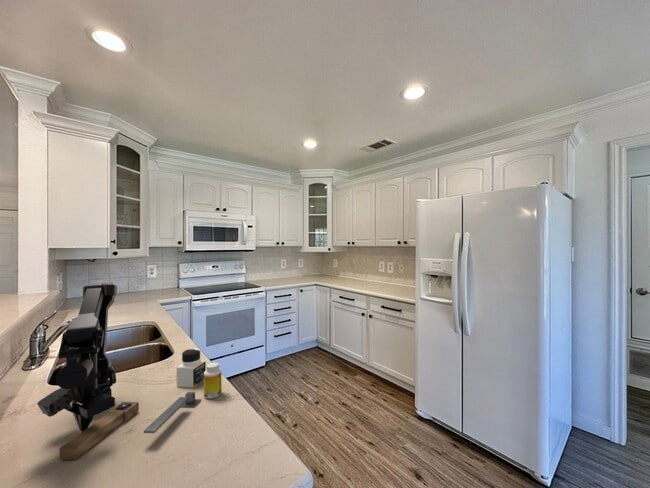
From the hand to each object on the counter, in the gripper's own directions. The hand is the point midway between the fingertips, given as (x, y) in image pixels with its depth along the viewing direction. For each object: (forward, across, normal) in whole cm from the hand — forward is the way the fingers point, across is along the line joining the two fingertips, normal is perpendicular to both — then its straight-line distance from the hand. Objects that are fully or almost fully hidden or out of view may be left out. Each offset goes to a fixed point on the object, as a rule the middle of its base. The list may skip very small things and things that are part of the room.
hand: (83, 431), depth 74 cm
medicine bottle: (+2, +1, +33) cm, 33 cm away
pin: (+2, 0, +10) cm, 10 cm away
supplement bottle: (+2, +15, +30) cm, 33 cm away
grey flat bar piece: (+2, +16, +15) cm, 22 cm away
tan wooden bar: (+1, +3, +3) cm, 4 cm away
